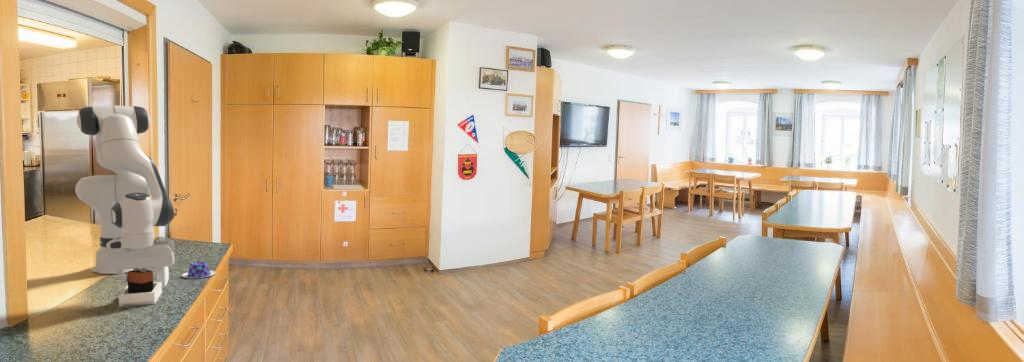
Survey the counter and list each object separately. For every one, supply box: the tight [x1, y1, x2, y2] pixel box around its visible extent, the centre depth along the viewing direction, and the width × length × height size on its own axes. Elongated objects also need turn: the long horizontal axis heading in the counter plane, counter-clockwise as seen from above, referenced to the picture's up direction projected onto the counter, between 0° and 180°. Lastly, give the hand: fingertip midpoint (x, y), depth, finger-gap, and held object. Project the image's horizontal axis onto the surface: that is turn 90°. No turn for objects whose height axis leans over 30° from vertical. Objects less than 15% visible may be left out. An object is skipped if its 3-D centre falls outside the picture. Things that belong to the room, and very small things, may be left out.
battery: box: [126, 268, 153, 294], centre depth 187 cm, size 4×7×10 cm, turn 73°
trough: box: [118, 282, 163, 308], centre depth 187 cm, size 13×10×4 cm
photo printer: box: [152, 266, 170, 289], centre depth 205 cm, size 10×4×12 cm, turn 25°
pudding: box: [181, 261, 217, 279], centre depth 219 cm, size 12×12×5 cm
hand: (140, 280), depth 187 cm, fingers open, 8 cm apart
